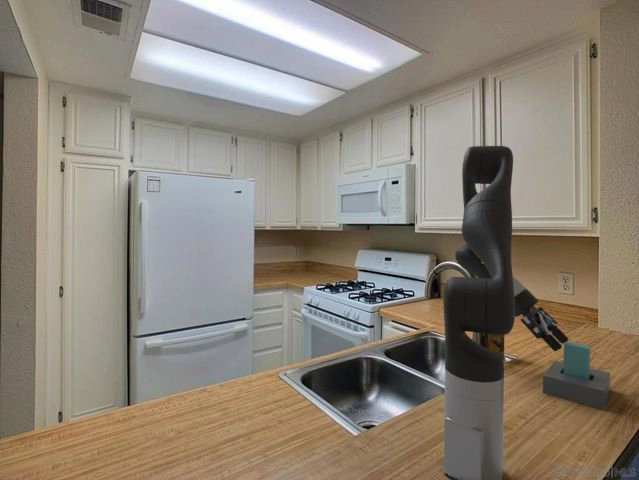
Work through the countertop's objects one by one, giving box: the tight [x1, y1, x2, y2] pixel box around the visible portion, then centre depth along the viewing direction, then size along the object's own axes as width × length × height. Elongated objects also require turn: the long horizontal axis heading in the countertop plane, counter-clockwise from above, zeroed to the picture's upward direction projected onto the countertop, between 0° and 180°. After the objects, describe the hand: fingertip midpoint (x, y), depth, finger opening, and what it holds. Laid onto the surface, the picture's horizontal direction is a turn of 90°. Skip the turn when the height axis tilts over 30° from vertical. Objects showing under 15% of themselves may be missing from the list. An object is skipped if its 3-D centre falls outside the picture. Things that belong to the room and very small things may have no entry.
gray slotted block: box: [542, 360, 611, 411], centre depth 87 cm, size 14×12×4 cm
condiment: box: [488, 334, 506, 364], centre depth 111 cm, size 7×8×12 cm
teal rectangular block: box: [563, 341, 591, 380], centre depth 87 cm, size 3×5×12 cm, turn 45°
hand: (562, 345), depth 89 cm, fingers open, 8 cm apart
